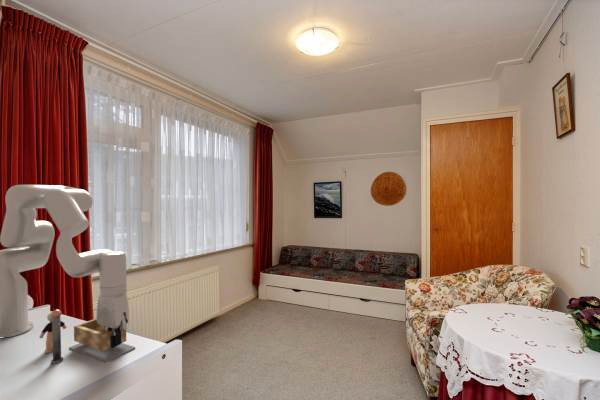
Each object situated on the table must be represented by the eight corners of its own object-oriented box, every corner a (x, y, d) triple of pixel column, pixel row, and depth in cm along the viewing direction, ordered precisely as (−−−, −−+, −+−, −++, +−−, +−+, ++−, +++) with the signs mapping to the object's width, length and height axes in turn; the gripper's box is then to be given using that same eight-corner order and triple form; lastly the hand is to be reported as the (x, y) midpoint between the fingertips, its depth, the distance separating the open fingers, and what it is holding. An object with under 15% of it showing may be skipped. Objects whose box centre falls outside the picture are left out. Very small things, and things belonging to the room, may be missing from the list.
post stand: (48, 362, 94) (47, 310, 93) (59, 357, 97) (58, 307, 96) (54, 365, 93) (53, 312, 92) (65, 360, 95) (64, 308, 95)
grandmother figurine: (47, 355, 98) (46, 316, 98) (38, 353, 99) (37, 315, 99) (69, 343, 106) (69, 307, 105) (60, 342, 106) (60, 306, 106)
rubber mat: (69, 348, 102) (69, 347, 102) (98, 336, 111) (98, 335, 111) (106, 363, 94) (106, 361, 94) (135, 348, 102) (135, 347, 102)
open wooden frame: (74, 340, 103) (73, 326, 102) (97, 331, 109) (97, 317, 109) (103, 351, 96) (103, 335, 96) (126, 340, 103) (126, 326, 102)
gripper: (87, 289, 99) (87, 345, 99) (117, 296, 92) (118, 356, 93) (109, 283, 106) (110, 335, 106) (139, 289, 99) (140, 345, 100)
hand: (114, 345), depth 99 cm, fingers closed on open wooden frame, 1 cm apart
